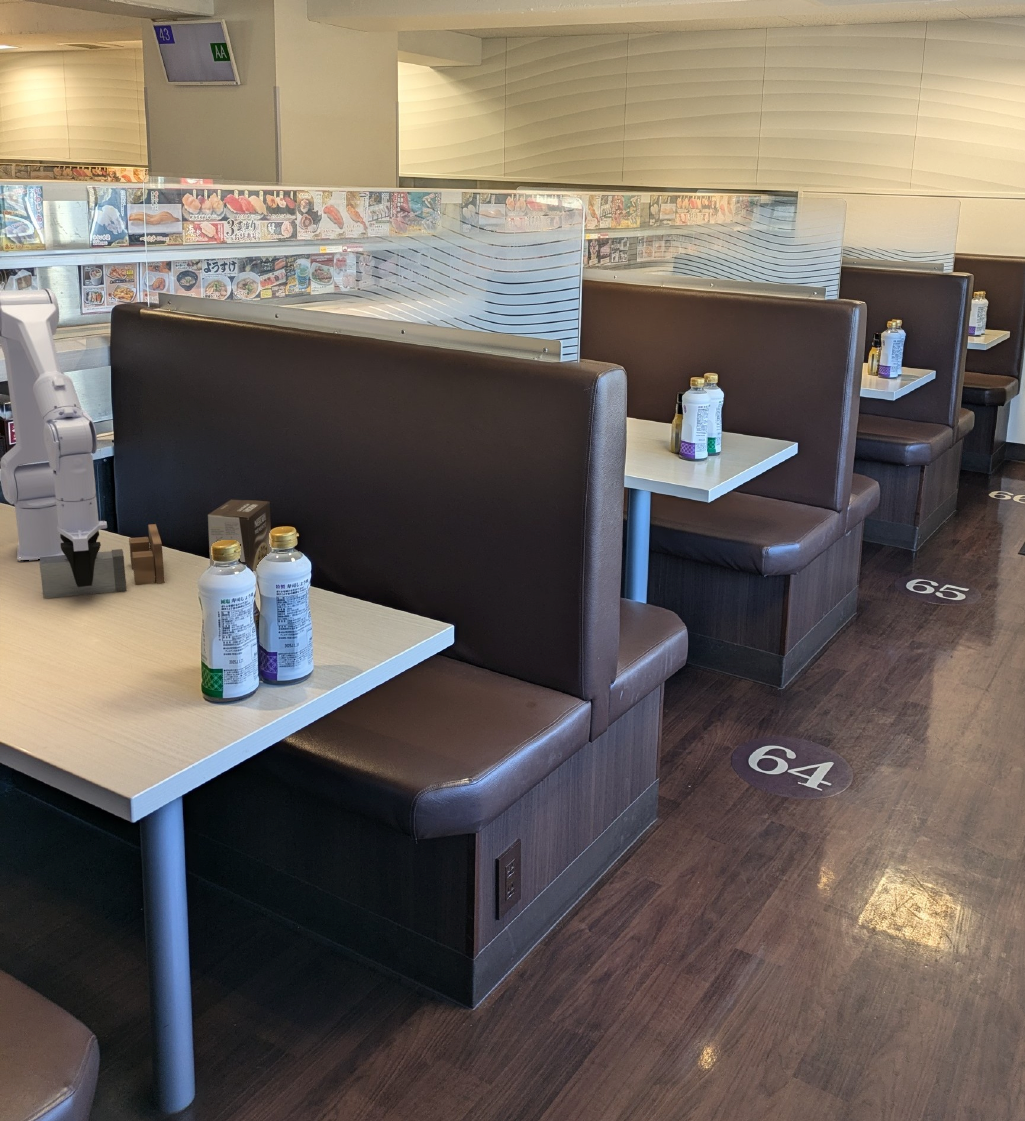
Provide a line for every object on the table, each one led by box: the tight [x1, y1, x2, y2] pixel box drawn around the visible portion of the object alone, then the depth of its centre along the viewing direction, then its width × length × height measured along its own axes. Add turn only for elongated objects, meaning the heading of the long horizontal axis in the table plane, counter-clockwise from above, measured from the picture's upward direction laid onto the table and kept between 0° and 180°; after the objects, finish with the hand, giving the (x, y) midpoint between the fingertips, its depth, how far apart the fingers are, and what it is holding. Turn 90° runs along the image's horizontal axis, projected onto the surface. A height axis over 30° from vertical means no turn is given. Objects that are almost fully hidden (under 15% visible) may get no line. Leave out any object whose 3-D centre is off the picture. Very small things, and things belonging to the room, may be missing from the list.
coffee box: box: [207, 499, 272, 571], centre depth 166 cm, size 9×6×16 cm
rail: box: [39, 548, 127, 599], centre depth 173 cm, size 4×12×6 cm, turn 112°
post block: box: [128, 523, 166, 585], centre depth 182 cm, size 11×4×6 cm, turn 22°
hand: (84, 581), depth 173 cm, fingers closed on rail, 3 cm apart
